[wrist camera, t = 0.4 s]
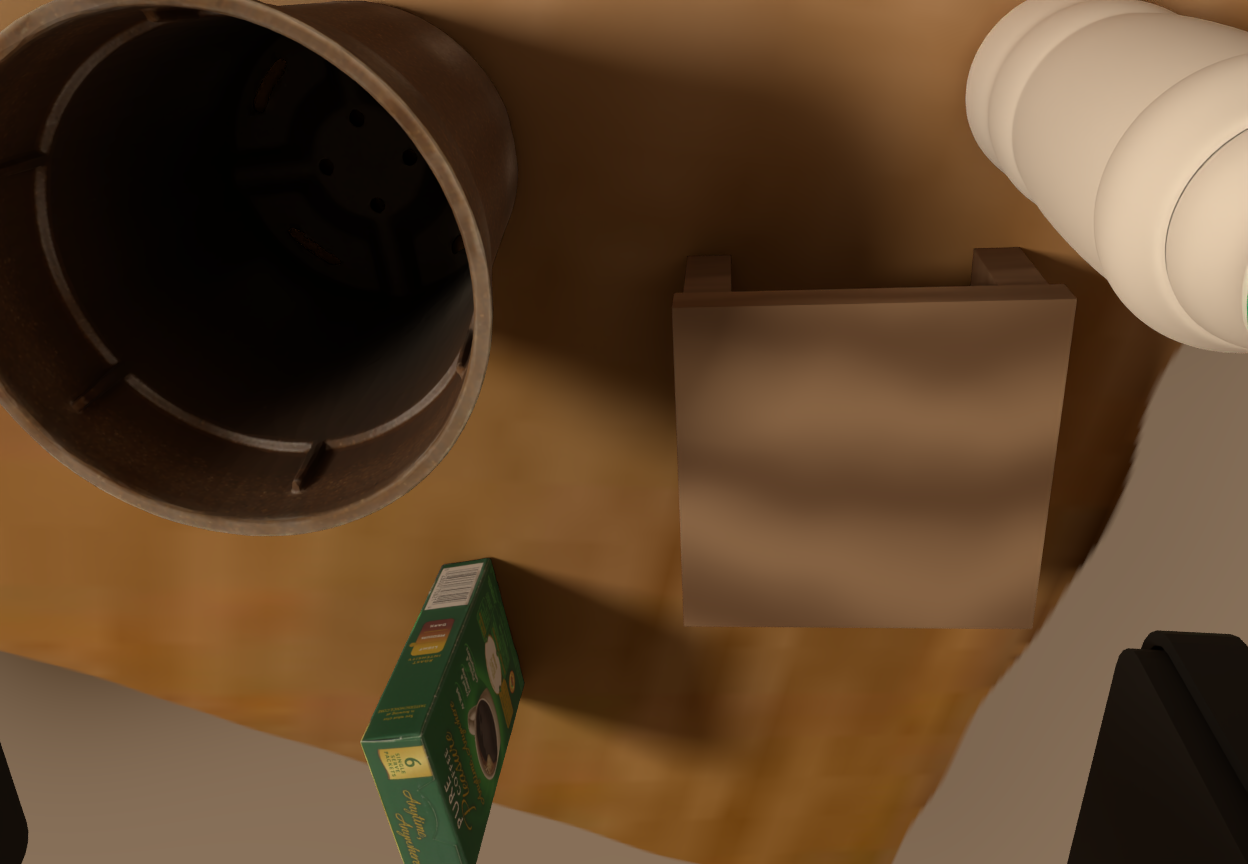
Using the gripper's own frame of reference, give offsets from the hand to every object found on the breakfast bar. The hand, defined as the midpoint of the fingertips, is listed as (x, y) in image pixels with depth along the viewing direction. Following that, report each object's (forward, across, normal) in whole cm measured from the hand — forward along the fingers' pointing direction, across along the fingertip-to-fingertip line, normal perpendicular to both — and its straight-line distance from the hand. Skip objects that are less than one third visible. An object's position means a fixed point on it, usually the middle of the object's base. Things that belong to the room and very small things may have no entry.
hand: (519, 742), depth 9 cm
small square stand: (+38, -7, +14) cm, 41 cm away
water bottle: (+38, -14, 0) cm, 40 cm away
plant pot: (+38, +13, +4) cm, 40 cm away
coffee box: (+38, +10, +27) cm, 47 cm away
